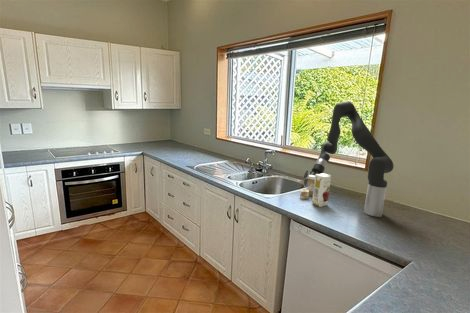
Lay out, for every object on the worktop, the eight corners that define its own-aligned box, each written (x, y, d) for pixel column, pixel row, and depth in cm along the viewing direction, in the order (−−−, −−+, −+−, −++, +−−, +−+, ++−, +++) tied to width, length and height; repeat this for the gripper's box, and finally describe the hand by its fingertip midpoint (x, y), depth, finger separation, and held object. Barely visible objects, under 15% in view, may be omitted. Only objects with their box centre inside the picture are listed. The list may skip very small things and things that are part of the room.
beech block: (307, 197, 174) (308, 189, 173) (308, 199, 169) (309, 192, 168) (300, 196, 175) (300, 188, 174) (300, 198, 170) (300, 191, 169)
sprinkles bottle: (305, 193, 180) (307, 174, 177) (312, 193, 180) (314, 174, 178) (308, 195, 175) (310, 176, 173) (314, 196, 176) (316, 176, 173)
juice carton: (310, 203, 162) (313, 174, 158) (319, 201, 167) (322, 172, 163) (320, 208, 156) (323, 177, 152) (329, 205, 161) (333, 175, 157)
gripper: (308, 161, 184) (298, 180, 178) (328, 165, 174) (318, 185, 168) (311, 167, 189) (301, 186, 183) (331, 171, 179) (321, 191, 173)
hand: (309, 186), depth 175 cm, fingers open, 7 cm apart
